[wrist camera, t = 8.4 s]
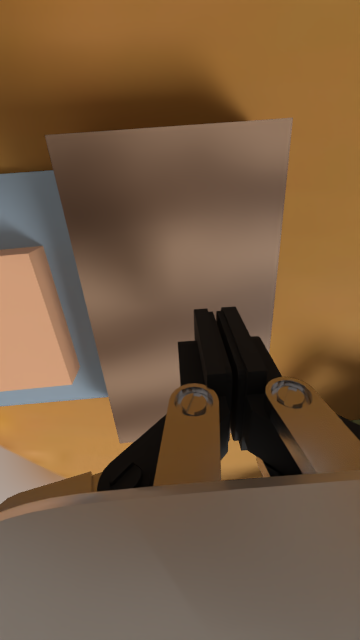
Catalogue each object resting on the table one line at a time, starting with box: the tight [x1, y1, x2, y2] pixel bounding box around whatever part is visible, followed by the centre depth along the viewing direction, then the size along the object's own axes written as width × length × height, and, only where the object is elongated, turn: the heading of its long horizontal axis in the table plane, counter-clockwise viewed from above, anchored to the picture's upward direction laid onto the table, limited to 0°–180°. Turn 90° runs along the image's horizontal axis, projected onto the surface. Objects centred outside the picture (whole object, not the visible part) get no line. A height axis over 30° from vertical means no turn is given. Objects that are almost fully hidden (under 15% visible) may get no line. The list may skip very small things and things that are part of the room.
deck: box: [45, 118, 293, 443], centre depth 17 cm, size 18×10×4 cm, turn 4°
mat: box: [0, 170, 109, 406], centre depth 18 cm, size 16×10×1 cm, turn 4°
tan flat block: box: [0, 246, 80, 392], centre depth 17 cm, size 9×6×2 cm, turn 5°
